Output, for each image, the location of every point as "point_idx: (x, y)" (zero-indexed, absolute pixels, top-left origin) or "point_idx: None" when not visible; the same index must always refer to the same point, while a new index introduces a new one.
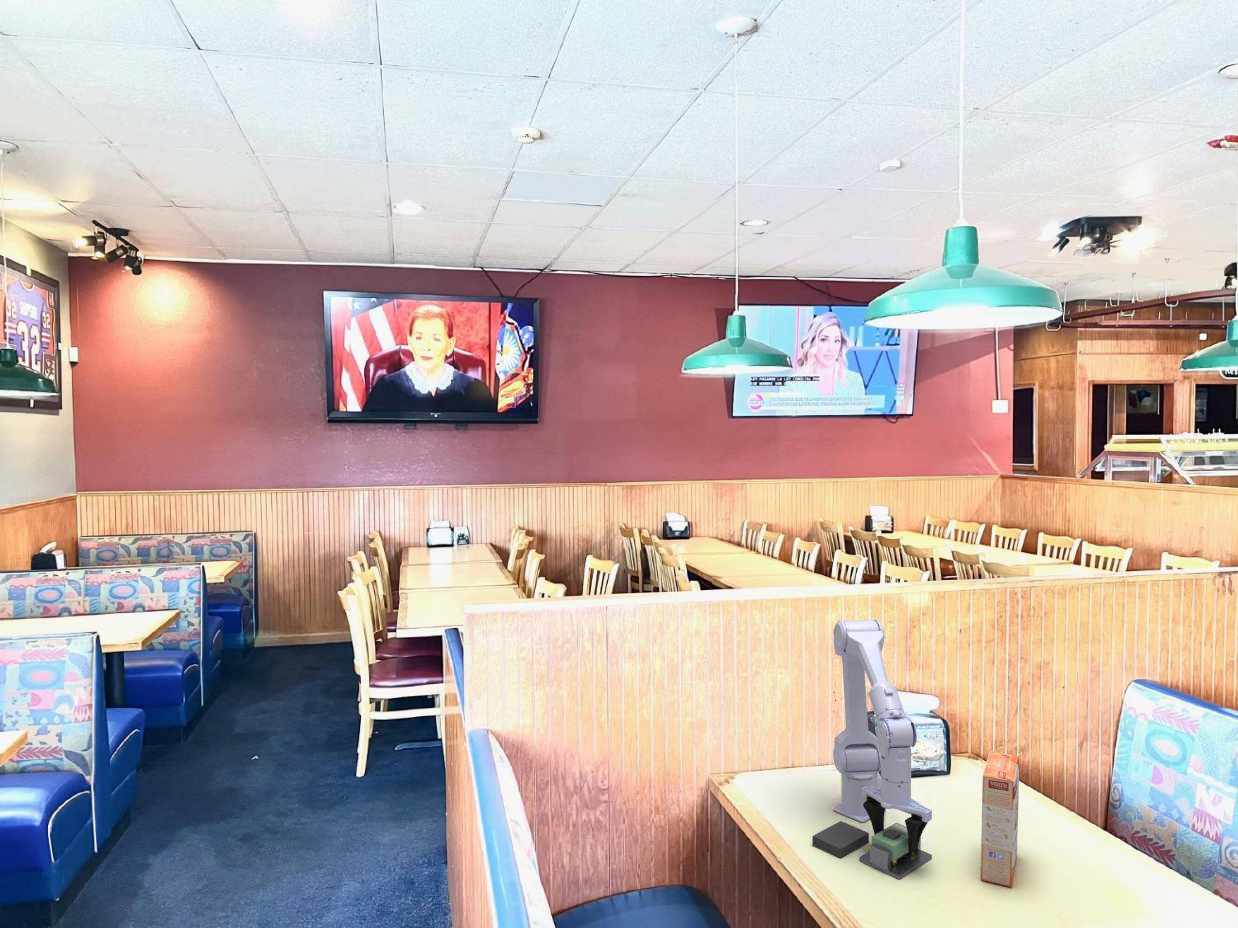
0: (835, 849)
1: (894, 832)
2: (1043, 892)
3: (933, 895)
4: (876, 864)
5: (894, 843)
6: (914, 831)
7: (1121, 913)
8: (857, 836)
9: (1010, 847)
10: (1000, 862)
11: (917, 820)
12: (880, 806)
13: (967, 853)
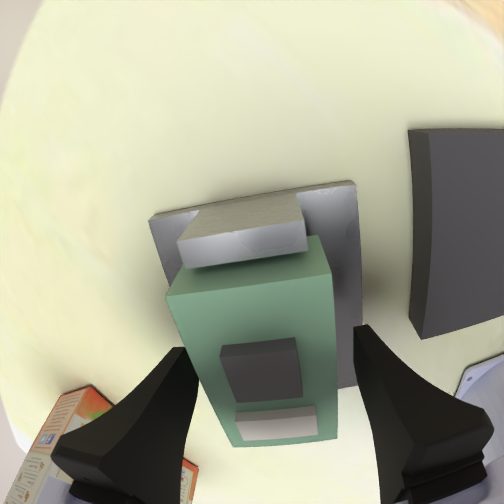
0: (445, 131)
1: (260, 390)
2: (50, 409)
3: (53, 241)
4: (259, 199)
5: (189, 321)
6: (91, 421)
7: (12, 413)
8: (440, 286)
9: (26, 458)
10: (48, 428)
11: (83, 480)
12: (389, 476)
13: (200, 444)
